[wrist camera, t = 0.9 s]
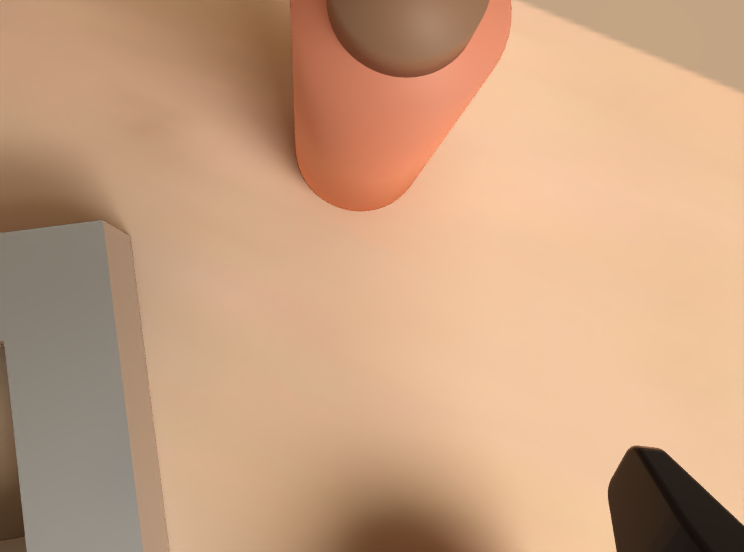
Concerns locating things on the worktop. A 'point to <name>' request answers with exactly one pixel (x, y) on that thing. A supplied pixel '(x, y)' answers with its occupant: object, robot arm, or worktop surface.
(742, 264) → the worktop surface
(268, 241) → the worktop surface
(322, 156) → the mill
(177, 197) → the worktop surface
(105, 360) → the socket board
